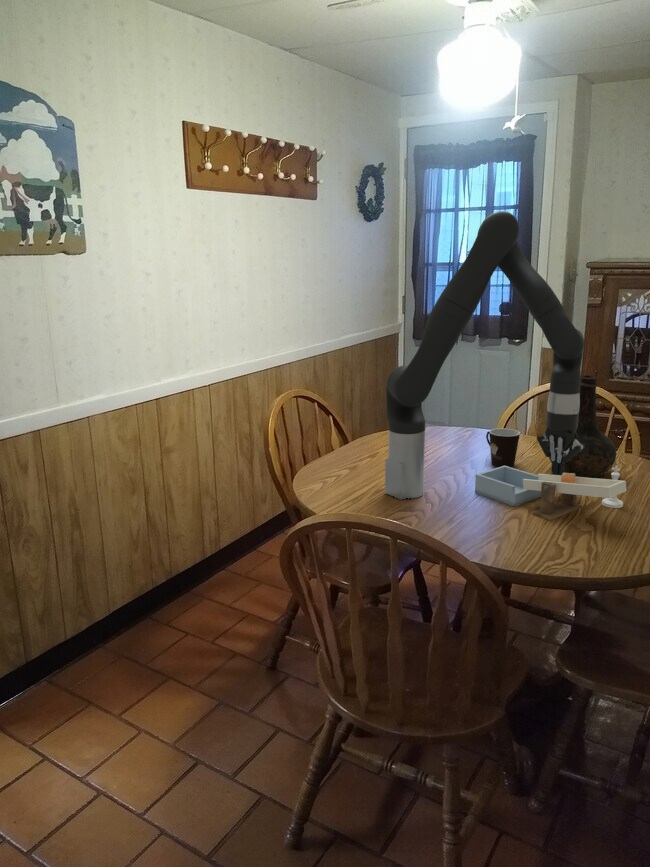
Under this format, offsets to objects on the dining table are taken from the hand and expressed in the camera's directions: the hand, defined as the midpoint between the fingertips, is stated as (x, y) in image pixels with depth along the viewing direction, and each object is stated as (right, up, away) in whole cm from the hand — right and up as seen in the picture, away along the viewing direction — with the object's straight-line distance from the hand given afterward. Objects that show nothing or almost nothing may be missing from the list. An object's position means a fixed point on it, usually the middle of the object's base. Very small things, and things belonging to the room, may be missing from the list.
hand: (557, 475), depth 170 cm
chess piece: (+12, -7, -5) cm, 15 cm away
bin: (-12, -5, +2) cm, 13 cm away
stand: (-3, -8, -9) cm, 12 cm away
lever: (+2, -2, -11) cm, 11 cm away
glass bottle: (+12, -1, +17) cm, 20 cm away
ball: (-2, 0, -13) cm, 13 cm away
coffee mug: (-7, +2, +27) cm, 28 cm away
